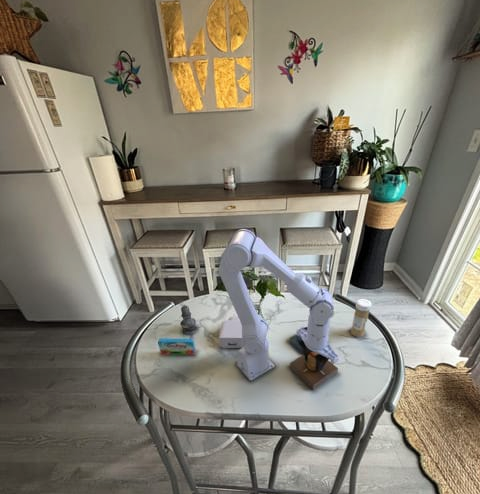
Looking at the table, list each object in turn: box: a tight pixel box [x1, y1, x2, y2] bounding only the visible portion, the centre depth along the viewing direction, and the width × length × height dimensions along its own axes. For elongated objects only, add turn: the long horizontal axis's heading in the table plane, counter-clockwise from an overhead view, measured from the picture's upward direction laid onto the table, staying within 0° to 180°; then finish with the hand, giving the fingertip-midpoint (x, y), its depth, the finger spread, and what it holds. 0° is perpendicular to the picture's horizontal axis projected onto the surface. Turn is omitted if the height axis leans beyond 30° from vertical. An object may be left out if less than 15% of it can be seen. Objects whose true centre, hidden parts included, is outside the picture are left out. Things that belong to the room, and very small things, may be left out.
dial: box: [307, 352, 318, 370], centre depth 82 cm, size 4×4×4 cm
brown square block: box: [289, 351, 339, 391], centre depth 83 cm, size 10×10×3 cm
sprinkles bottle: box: [350, 298, 372, 338], centre depth 93 cm, size 5×5×14 cm
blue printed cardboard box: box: [157, 337, 197, 356], centre depth 92 cm, size 12×2×6 cm, turn 85°
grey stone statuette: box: [179, 304, 198, 335], centre depth 101 cm, size 6×6×12 cm
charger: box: [218, 314, 244, 349], centre depth 99 cm, size 5×9×15 cm
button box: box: [288, 326, 306, 355], centre depth 94 cm, size 10×8×4 cm
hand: (314, 364), depth 82 cm, fingers closed on dial, 4 cm apart
